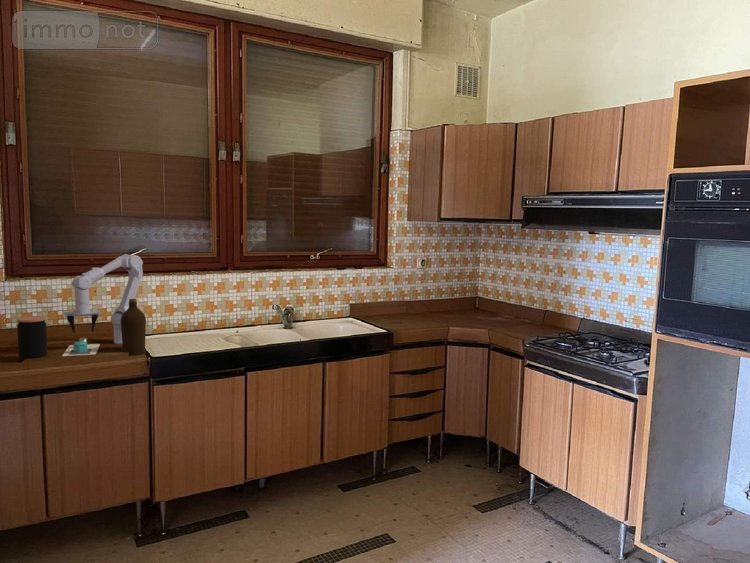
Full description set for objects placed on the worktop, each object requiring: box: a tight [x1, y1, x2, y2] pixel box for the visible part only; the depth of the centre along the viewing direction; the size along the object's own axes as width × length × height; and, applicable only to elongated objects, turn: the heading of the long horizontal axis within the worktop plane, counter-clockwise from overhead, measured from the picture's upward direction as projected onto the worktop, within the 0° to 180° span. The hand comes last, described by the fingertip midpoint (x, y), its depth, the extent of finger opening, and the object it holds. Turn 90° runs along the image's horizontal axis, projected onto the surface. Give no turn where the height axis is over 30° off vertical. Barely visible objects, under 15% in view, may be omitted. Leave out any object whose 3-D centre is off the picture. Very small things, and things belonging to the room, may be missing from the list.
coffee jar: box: [16, 315, 49, 363], centre depth 240 cm, size 11×11×18 cm
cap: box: [72, 340, 88, 353], centre depth 249 cm, size 5×5×4 cm
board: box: [62, 343, 101, 357], centre depth 254 cm, size 13×21×2 cm, turn 21°
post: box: [79, 337, 88, 343], centre depth 258 cm, size 3×3×4 cm
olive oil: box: [121, 298, 147, 356], centre depth 255 cm, size 11×11×25 cm
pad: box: [69, 349, 92, 356], centre depth 249 cm, size 8×8×1 cm
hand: (83, 331), depth 255 cm, fingers open, 7 cm apart
